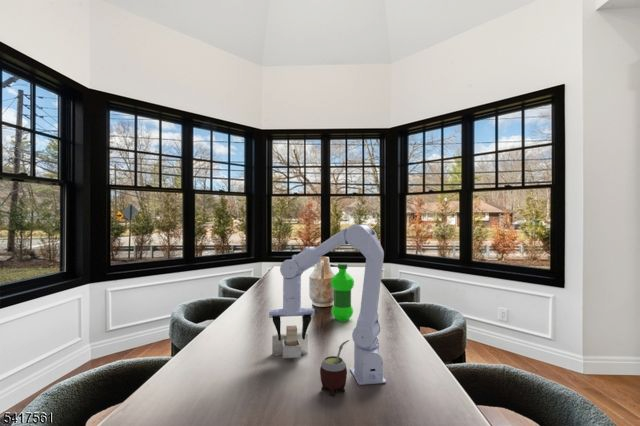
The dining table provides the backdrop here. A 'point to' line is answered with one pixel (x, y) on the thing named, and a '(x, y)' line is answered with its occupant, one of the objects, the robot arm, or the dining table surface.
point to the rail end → (291, 335)
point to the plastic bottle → (342, 294)
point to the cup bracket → (292, 350)
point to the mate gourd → (334, 373)
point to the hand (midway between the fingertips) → (291, 338)
